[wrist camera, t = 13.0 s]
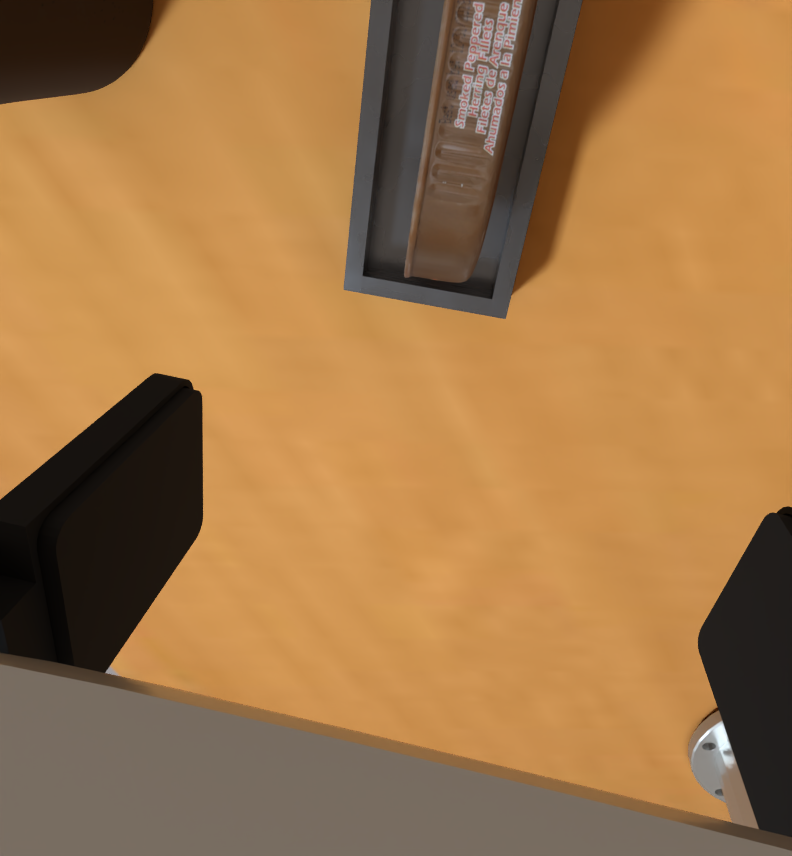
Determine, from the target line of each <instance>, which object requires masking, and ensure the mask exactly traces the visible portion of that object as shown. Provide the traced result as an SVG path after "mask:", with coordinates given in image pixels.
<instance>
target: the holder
mask: <svg viewBox="0 0 792 856" xmlns="http://www.w3.org/2000/svg"><path fill="white" fill-rule="evenodd" d="M581 4H582V0H538V1H537V6H536V11H535V15H534V20H533V25H532V30H531V35H530V39H529V44H528V49H527V54H526V59H525V63H524V68H523V73H522V77H521V82H520V86H519V91H518V96H517V100H516V105H515V109H514V114H513V118H512V122H511V127H510V132H509V136H508V140H507V145H506V149H505V154H504V159H503V164H502V168H501V172H500V177H499V181H498V186H497V190H496V195H495V199H494V203H493V207H492V211H491V215H490V219H489V223H488V227H487V231H486V235H485V239H484V242H483V246H482V250H481V253H480V256H479V259H478V261H477V264H476V267H475V269H474V271H473V273H472V275H471V277H470V278H469V279H468V280H467V281H464V282H461V283H456V282H446V281H440V280H433V279H427V278H421V277H415V276H411V277H409V278H405V277H404V269H405V261H406V255H407V248H408V240H409V233H410V227H411V219H412V212H413V204H414V198H415V192H416V185H417V178H418V172H419V166H420V159H421V153H422V147H423V140H424V133H425V126H426V119H427V113H428V107H429V100H430V94H431V87H432V80H433V73H434V66H435V60H436V54H437V47H438V40H439V33H440V27H441V20H442V13H443V5H444V0H371V8H370V19H369V29H368V40H367V50H366V61H365V71H364V82H363V92H362V103H361V113H360V123H359V134H358V144H357V155H356V165H355V176H354V186H353V197H352V207H351V218H350V228H349V239H348V249H347V260H346V270H345V281H344V290H348V291H353V292H359V293H364V294H370V295H375V296H381V297H386V298H392V299H398V300H403V301H409V302H414V303H420V304H425V305H431V306H436V307H442V308H447V309H453V310H459V311H464V312H470V313H475V314H481V315H486V316H492V317H497V318H503V319H506V315H507V311H508V307H509V303H510V299H511V294H512V290H513V286H514V282H515V278H516V274H517V270H518V265H519V261H520V257H521V253H522V249H523V245H524V241H525V236H526V232H527V228H528V224H529V220H530V216H531V212H532V207H533V203H534V199H535V195H536V191H537V187H538V183H539V178H540V174H541V170H542V166H543V162H544V158H545V154H546V149H547V145H548V141H549V137H550V133H551V129H552V125H553V120H554V116H555V112H556V108H557V104H558V100H559V96H560V91H561V87H562V83H563V79H564V75H565V71H566V67H567V62H568V58H569V54H570V50H571V46H572V42H573V38H574V33H575V29H576V25H577V21H578V17H579V13H580V9H581Z"/></svg>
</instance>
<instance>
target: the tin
mask: <svg viewBox="0 0 792 856" xmlns="http://www.w3.org/2000/svg"><path fill="white" fill-rule="evenodd" d="M537 1H538V0H444V5H443V13H442V20H441V27H440V33H439V40H438V47H437V54H436V60H435V66H434V73H433V80H432V87H431V94H430V100H429V107H428V113H427V119H426V126H425V133H424V140H423V147H422V153H421V159H420V166H419V172H418V178H417V185H416V192H415V198H414V204H413V212H412V219H411V227H410V233H409V240H408V248H407V255H406V261H405V269H404V277H405V278H409V277H411V276H415V277H421V278H427V279H433V280H440V281H446V282H456V283H461V282H464V281H467V280H468V279H469V278H470V277H471V275H472V273H473V271H474V269H475V267H476V264H477V261H478V259H479V256H480V253H481V250H482V246H483V242H484V239H485V235H486V231H487V227H488V223H489V219H490V215H491V211H492V207H493V203H494V199H495V195H496V190H497V186H498V181H499V177H500V172H501V168H502V164H503V159H504V154H505V149H506V145H507V140H508V136H509V132H510V127H511V122H512V118H513V114H514V109H515V105H516V100H517V96H518V91H519V86H520V82H521V77H522V73H523V68H524V63H525V59H526V54H527V49H528V44H529V39H530V35H531V30H532V25H533V20H534V15H535V11H536V6H537Z"/></svg>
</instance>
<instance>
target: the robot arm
mask: <svg viewBox="0 0 792 856" xmlns="http://www.w3.org/2000/svg"><path fill="white" fill-rule="evenodd" d="M202 521H203V435H202V395H201V393H200V391H197V390H193V386H192V383H191V382H190V381H189V380H187V379H182V378H177V377H172V376H168V375H163V374H158V373H154V374H153V375H151V376H150V377H148V378H147V379H146V380H145V381H144V382H142V383H141V384H140V385H139V386H137V387H136V388H135V389H134V390H133V391H131V392H130V393H129V394H128V395H127V396H125V397H124V398H123V399H122V400H120V401H119V402H118V403H117V404H116V405H114V406H113V407H112V408H111V409H110V410H108V411H107V412H106V413H105V414H104V415H102V416H101V417H100V418H99V419H97V420H96V421H95V422H94V423H93V424H91V425H90V426H89V427H88V428H87V429H85V430H84V431H83V432H82V433H81V434H79V435H78V436H77V437H76V438H74V439H73V440H72V441H71V442H70V443H68V444H67V445H66V446H65V447H64V448H62V449H61V450H60V451H59V452H58V453H56V454H55V455H54V456H53V457H51V458H50V459H49V460H48V461H47V462H45V463H44V464H43V465H42V466H41V467H39V468H38V469H37V470H36V471H35V472H33V473H32V474H31V475H30V476H28V477H27V478H26V479H25V480H24V481H22V482H21V483H20V484H19V485H18V486H16V487H15V488H14V489H13V490H11V491H10V492H9V493H8V494H7V495H5V496H4V497H3V498H2V499H1V500H0V856H792V507H783V508H782V509H780V510H779V511H778V512H777V513H769V514H768V515H767V516H766V517H765V518H764V519H763V521H762V523H761V524H760V526H759V528H758V530H757V531H756V533H755V535H754V537H753V538H752V540H751V542H750V544H749V545H748V547H747V549H746V551H745V552H744V554H743V556H742V558H741V559H740V561H739V563H738V565H737V566H736V568H735V570H734V572H733V573H732V575H731V577H730V578H729V580H728V582H727V584H726V585H725V587H724V589H723V591H722V592H721V594H720V596H719V598H718V599H717V601H716V603H715V605H714V606H713V608H712V610H711V612H710V613H709V615H708V617H707V619H706V620H705V622H704V624H703V626H702V628H701V630H700V633H699V637H698V649H699V653H700V656H701V659H702V662H703V665H704V668H705V671H706V674H707V677H708V680H709V683H710V686H711V689H712V692H713V695H714V698H715V701H716V703H717V706H718V709H719V710H718V711H716V712H715V713H713V714H711V715H710V716H709V717H708V718H707V719H706V720H704V721H703V722H702V723H701V724H700V725H699V726H698V728H697V729H696V730H695V732H694V733H693V734H692V737H691V740H690V742H689V745H688V757H689V761H690V765H691V769H692V772H693V774H694V776H695V778H696V780H697V781H698V783H699V784H700V785H701V786H702V787H703V788H704V789H705V790H706V791H707V792H708V793H710V794H711V795H712V796H714V797H716V798H718V799H719V800H721V801H723V802H725V803H726V805H727V808H728V811H729V814H730V818H731V821H732V823H731V822H727V821H723V820H719V819H715V818H711V817H707V816H703V815H699V814H695V813H691V812H687V811H683V810H679V809H675V808H671V807H667V806H663V805H659V804H655V803H651V802H647V801H643V800H638V799H634V798H630V797H626V796H622V795H618V794H614V793H610V792H606V791H602V790H598V789H594V788H590V787H586V786H582V785H577V784H573V783H569V782H565V781H561V780H557V779H553V778H549V777H544V776H540V775H536V774H532V773H528V772H524V771H520V770H516V769H511V768H507V767H503V766H499V765H495V764H491V763H487V762H483V761H478V760H474V759H470V758H466V757H462V756H458V755H453V754H449V753H445V752H441V751H437V750H433V749H429V748H424V747H420V746H416V745H412V744H408V743H404V742H399V741H395V740H391V739H387V738H383V737H379V736H374V735H370V734H366V733H362V732H358V731H354V730H349V729H345V728H341V727H337V726H332V725H328V724H324V723H320V722H315V721H311V720H307V719H303V718H298V717H294V716H290V715H286V714H281V713H277V712H273V711H269V710H264V709H260V708H256V707H252V706H247V705H243V704H239V703H235V702H230V701H226V700H222V699H218V698H214V697H209V696H205V695H201V694H197V693H192V692H188V691H184V690H180V689H175V688H171V687H166V686H162V685H157V684H153V683H148V682H143V681H139V680H134V679H130V678H125V677H120V676H116V675H111V674H107V673H105V672H106V670H107V669H108V668H109V666H110V665H111V663H112V662H113V660H114V659H115V657H116V656H117V654H118V653H119V651H120V650H121V648H122V647H123V646H124V644H125V643H126V641H127V640H128V638H129V637H130V635H131V634H132V632H133V631H134V629H135V628H136V626H137V625H138V623H139V622H140V620H141V619H142V618H143V616H144V615H145V613H146V612H147V610H148V609H149V607H150V606H151V604H152V603H153V601H154V600H155V598H156V597H157V595H158V594H159V593H160V591H161V590H162V588H163V587H164V585H165V584H166V582H167V581H168V579H169V578H170V576H171V575H172V573H173V572H174V570H175V569H176V567H177V566H178V565H179V563H180V562H181V560H182V559H183V557H184V556H185V554H186V553H187V551H188V550H189V548H190V547H191V545H192V544H193V542H194V541H195V540H196V538H197V536H198V534H199V532H200V529H201V526H202Z"/></svg>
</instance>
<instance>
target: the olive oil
mask: <svg viewBox="0 0 792 856" xmlns="http://www.w3.org/2000/svg"><path fill="white" fill-rule="evenodd" d="M152 8H153V0H0V104H5V103H12V102H19V101H26V100H34V99H42V98H50V97H58V96H66V95H74V94H81V93H87V92H91V91H95V90H98V89H100V88H103V87H105V86H107V85H109V84H111V83H112V82H114V81H115V80H117V79H118V78H119V77H121V76H122V75H123V74H124V73H125V72H126V71H127V70H128V69H129V68H130V66H131V65H132V64H133V62H134V61H135V60H136V58H137V56H138V55H139V53H140V51H141V49H142V47H143V45H144V42H145V39H146V37H147V33H148V30H149V26H150V21H151V16H152Z"/></svg>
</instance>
